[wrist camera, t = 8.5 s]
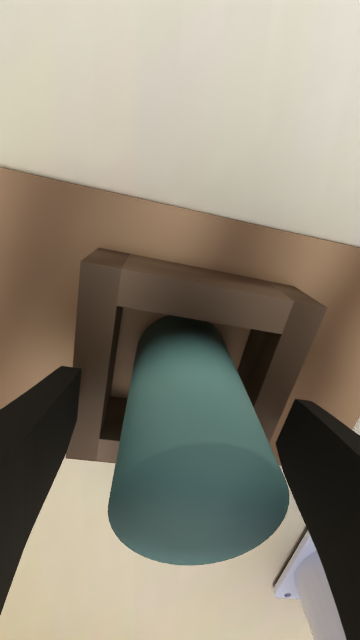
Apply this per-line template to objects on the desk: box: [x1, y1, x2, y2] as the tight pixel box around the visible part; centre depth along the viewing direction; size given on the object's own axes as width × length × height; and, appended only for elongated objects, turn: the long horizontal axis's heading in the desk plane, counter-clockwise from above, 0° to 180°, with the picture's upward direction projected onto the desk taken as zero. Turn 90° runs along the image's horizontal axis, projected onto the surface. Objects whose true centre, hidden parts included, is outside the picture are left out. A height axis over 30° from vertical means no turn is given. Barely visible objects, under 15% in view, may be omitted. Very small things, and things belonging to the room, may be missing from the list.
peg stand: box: [0, 167, 360, 465], centre depth 12 cm, size 20×12×3 cm, turn 78°
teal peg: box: [108, 315, 289, 565], centre depth 9 cm, size 4×4×7 cm
